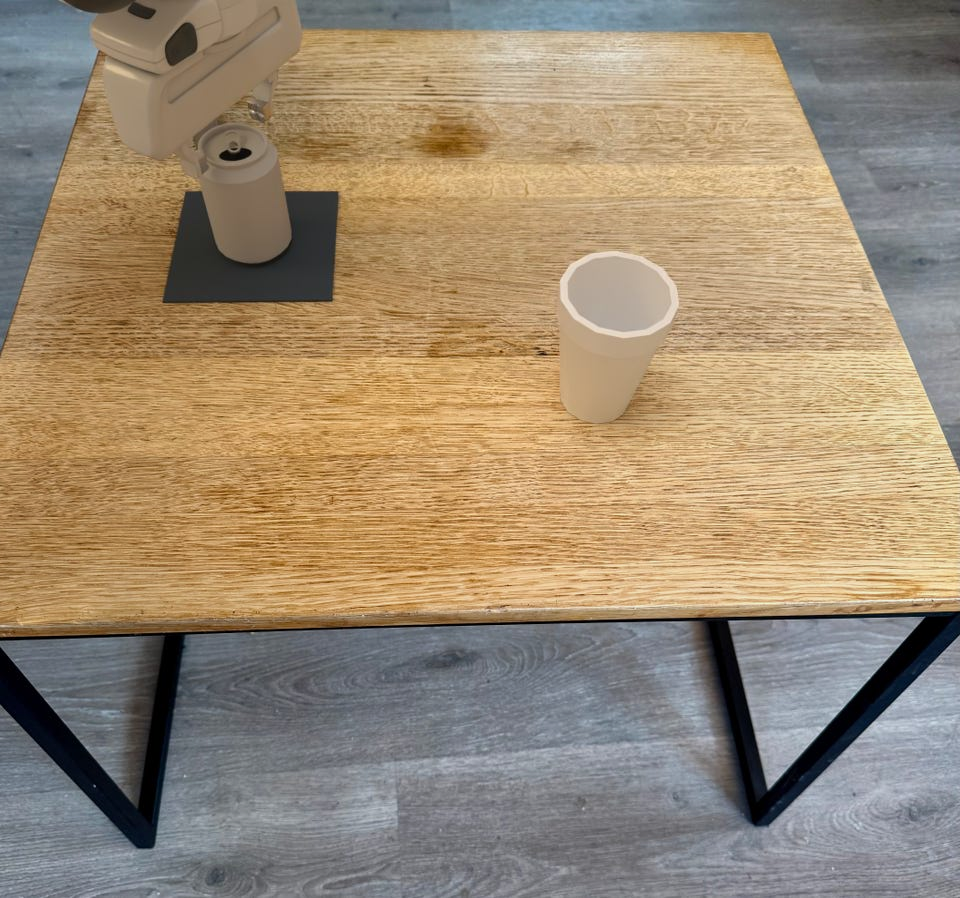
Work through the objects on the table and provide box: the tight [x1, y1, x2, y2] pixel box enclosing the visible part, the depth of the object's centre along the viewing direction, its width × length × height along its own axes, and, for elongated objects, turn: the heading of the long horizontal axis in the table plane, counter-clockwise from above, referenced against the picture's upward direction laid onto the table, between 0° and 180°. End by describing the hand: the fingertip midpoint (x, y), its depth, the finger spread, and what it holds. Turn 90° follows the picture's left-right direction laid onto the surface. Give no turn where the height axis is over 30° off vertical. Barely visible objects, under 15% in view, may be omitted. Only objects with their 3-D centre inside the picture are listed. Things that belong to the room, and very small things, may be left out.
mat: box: [162, 190, 340, 304], centre depth 88 cm, size 16×16×1 cm
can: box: [196, 122, 291, 264], centre depth 83 cm, size 8×8×12 cm
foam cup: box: [556, 250, 680, 425], centre depth 74 cm, size 10×9×13 cm
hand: (230, 144), depth 79 cm, fingers open, 8 cm apart
